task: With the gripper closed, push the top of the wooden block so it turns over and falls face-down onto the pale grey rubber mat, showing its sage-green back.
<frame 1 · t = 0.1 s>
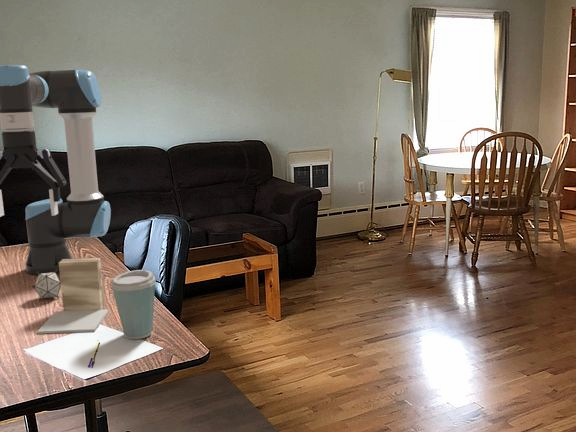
hand: (27, 215, 156), 28 cm above the table, tool pointing down, fingers open, 13 cm apart
game die: (49, 299, 180), on the table
wooden block: (84, 310, 169), on the table
disposable coffee cup: (137, 335, 151), on the table
mat: (74, 322, 160), on the table
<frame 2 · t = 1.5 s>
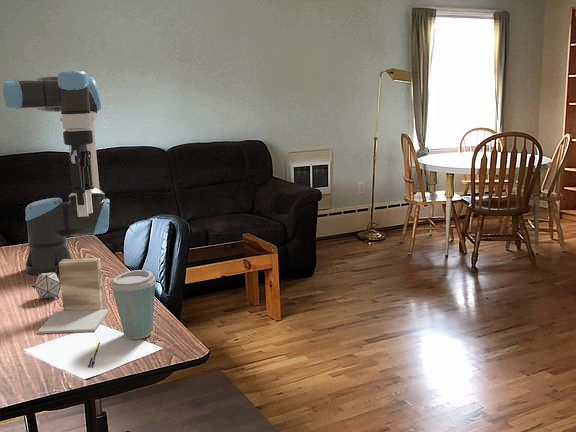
hand: (85, 214, 173), 25 cm above the table, tool pointing down, fingers open, 4 cm apart
nothing on the table moved.
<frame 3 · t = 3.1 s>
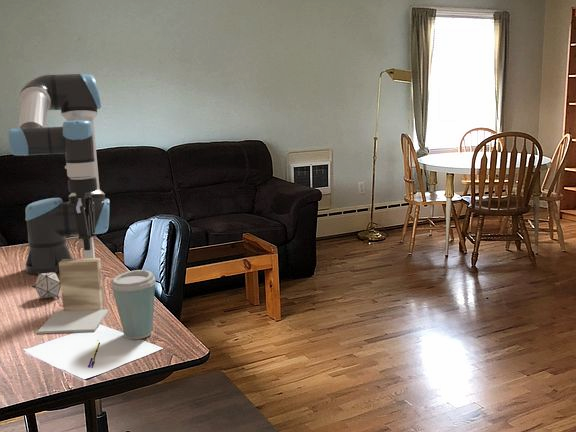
hand: (89, 260, 176), 11 cm above the table, tool pointing down, fingers closed
nothing on the table moved.
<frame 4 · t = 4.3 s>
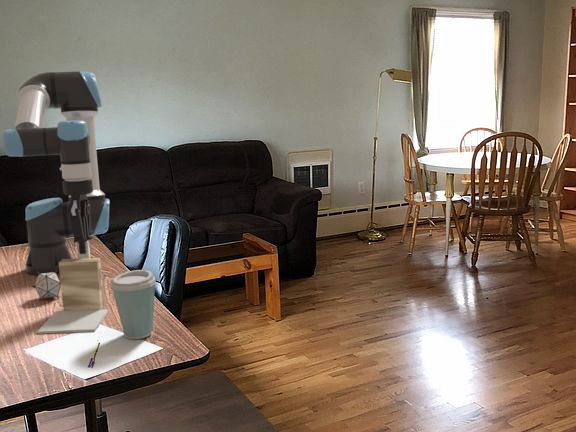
hand: (85, 264, 171), 12 cm above the table, tool pointing down, fingers closed
nothing on the table moved.
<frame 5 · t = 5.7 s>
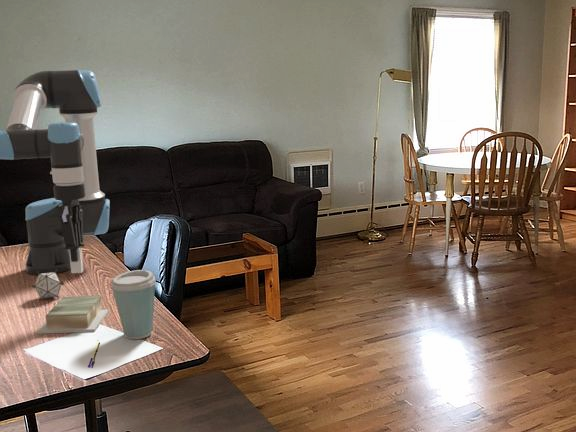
hand: (77, 272, 164), 12 cm above the table, tool pointing down, fingers closed
wooden block: (82, 302, 168), point 2 cm above the table, tilted 90°, touching mat
everything else where it was.
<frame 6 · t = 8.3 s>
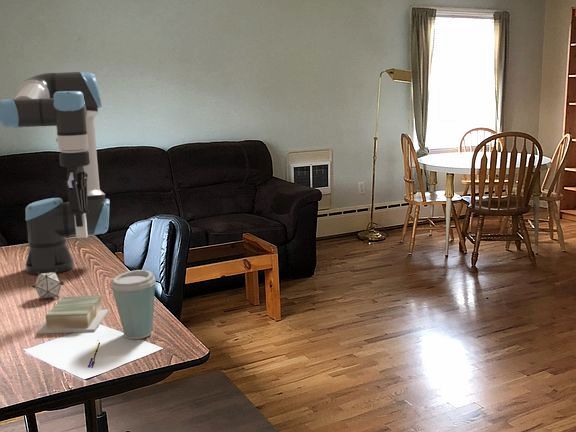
hand: (82, 237, 170), 19 cm above the table, tool pointing down, fingers closed
nothing on the table moved.
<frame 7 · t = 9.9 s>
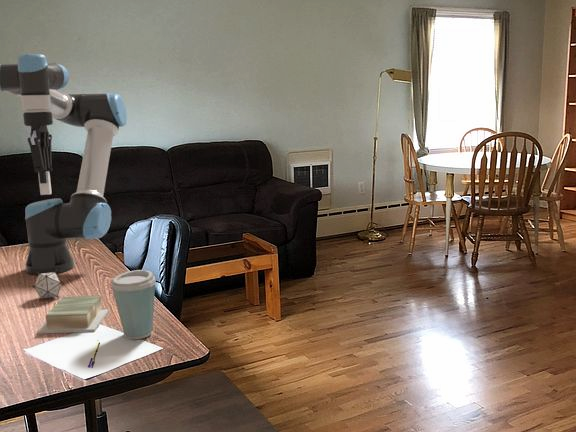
hand: (46, 194, 179), 29 cm above the table, tool pointing down, fingers closed
nothing on the table moved.
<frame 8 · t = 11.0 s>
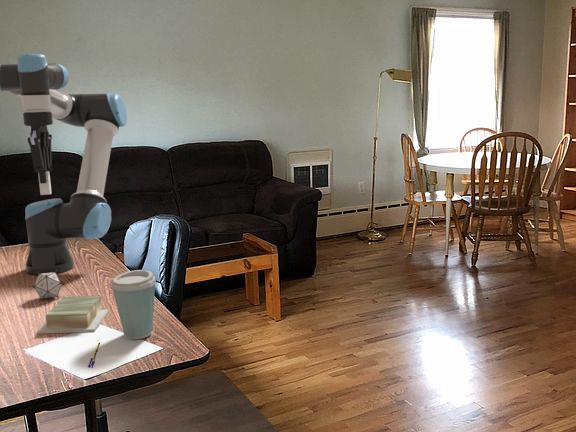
hand: (46, 194, 179), 29 cm above the table, tool pointing down, fingers closed
nothing on the table moved.
at the end: wooden block tilted 90°; wooden block inside the target area (6.1 cm from its centre), point 2.4 cm above the table; the gripper is holding nothing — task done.
